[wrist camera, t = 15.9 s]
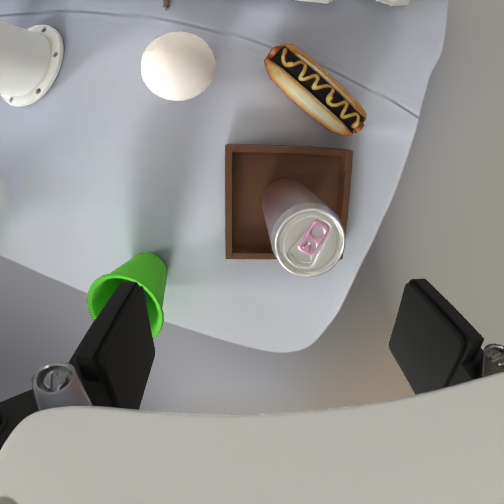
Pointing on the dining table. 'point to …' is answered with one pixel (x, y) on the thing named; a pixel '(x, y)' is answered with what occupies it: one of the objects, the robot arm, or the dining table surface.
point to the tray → (266, 172)
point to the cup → (145, 274)
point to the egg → (177, 66)
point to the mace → (166, 4)
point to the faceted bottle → (389, 0)
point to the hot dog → (314, 90)
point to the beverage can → (302, 228)
